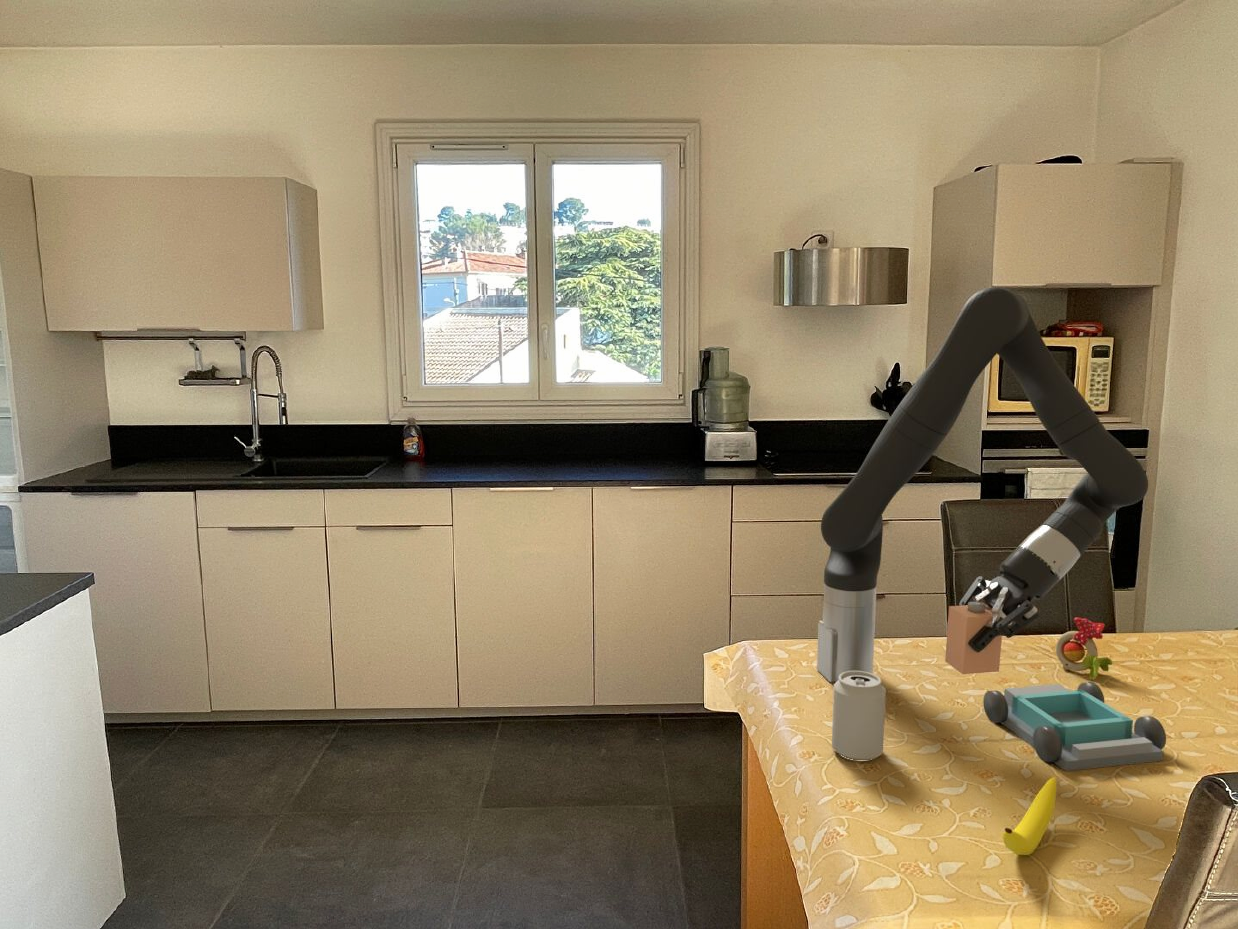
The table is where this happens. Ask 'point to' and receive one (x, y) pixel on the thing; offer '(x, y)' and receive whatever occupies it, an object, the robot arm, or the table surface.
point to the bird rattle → (1082, 648)
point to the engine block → (959, 633)
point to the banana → (1032, 822)
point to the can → (858, 715)
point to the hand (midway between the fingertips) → (962, 641)
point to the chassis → (1075, 726)
